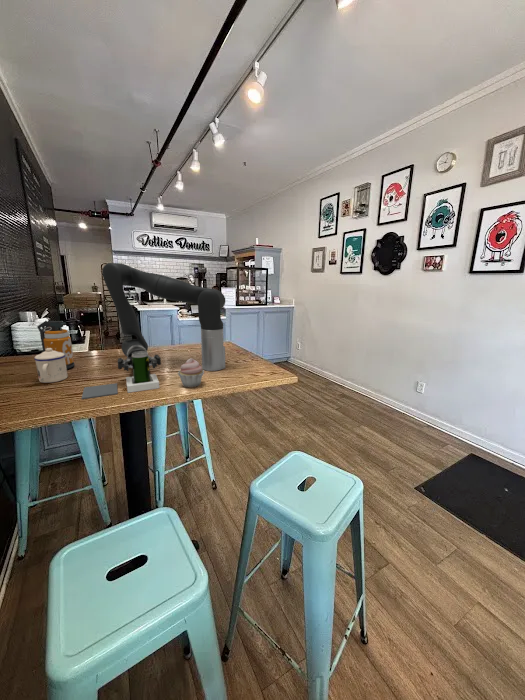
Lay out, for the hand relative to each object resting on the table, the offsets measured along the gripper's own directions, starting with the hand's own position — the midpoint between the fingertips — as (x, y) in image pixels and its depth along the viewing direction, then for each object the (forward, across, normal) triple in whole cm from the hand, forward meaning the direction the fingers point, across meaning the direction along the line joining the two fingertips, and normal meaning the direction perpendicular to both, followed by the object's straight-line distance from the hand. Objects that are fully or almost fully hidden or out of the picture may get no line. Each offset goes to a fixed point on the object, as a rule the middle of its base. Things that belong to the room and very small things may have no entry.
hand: (141, 366), depth 98 cm
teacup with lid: (-20, -29, +8) cm, 36 cm away
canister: (-36, -29, +8) cm, 47 cm away
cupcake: (+5, +16, +8) cm, 18 cm away
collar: (-1, 0, +7) cm, 7 cm away
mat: (-1, -13, +7) cm, 15 cm away
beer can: (-1, 0, +7) cm, 7 cm away
